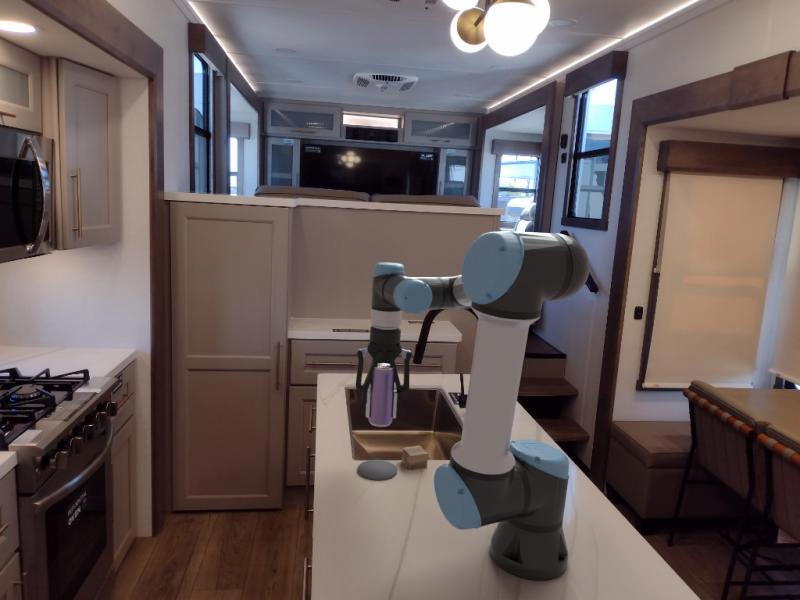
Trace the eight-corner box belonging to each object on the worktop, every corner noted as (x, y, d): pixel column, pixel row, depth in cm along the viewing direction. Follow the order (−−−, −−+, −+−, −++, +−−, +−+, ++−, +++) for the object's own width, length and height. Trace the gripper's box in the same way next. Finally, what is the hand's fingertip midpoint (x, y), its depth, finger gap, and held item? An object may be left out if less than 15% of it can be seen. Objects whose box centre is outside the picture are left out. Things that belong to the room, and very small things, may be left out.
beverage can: (391, 428, 143) (395, 369, 140) (367, 426, 143) (370, 368, 140) (392, 419, 149) (395, 362, 146) (369, 417, 149) (372, 361, 146)
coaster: (398, 480, 144) (398, 478, 143) (358, 480, 142) (358, 477, 142) (395, 462, 153) (395, 460, 153) (357, 461, 152) (357, 459, 152)
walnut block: (426, 467, 152) (427, 453, 151) (409, 470, 150) (410, 455, 149) (418, 459, 156) (419, 445, 156) (401, 461, 154) (402, 447, 154)
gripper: (422, 324, 146) (416, 411, 150) (346, 321, 144) (342, 409, 148) (426, 330, 139) (419, 422, 143) (347, 328, 137) (342, 420, 141)
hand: (380, 415), depth 145 cm, fingers closed on beverage can, 6 cm apart
